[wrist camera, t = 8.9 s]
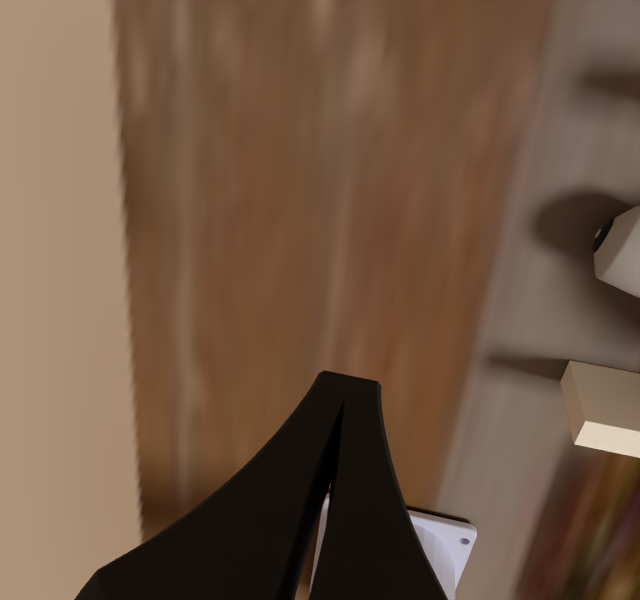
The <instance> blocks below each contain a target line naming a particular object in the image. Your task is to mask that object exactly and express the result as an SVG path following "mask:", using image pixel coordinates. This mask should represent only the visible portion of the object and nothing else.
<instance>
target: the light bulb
mask: <svg viewBox="0 0 640 600" xmlns="http://www.w3.org/2000/svg"><path fill="white" fill-rule="evenodd" d="M595 238H596V240H595V243H594V246H593V252H594V265H595V276H596V278H598V279H600V280H602V281H604V282H606V283H608V284H610V285H612V286H615V287H617V288H619V289H621V290H623V291H625V292H627V293H630V294H632V295H634V296H636V297H638V298H640V205H639V206H636V207H634V208H632V209H630V210H628V211H627V212H625V213H623V214H621V215H619V216H618V217H616V218H614V219H611V220H609V221H608V222H607V223H606V224H605V225H604V227H603V228H602V229H599V230H598V232H597V233H596V235H595Z"/></svg>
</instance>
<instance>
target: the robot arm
mask: <svg viewBox="0 0 640 600" xmlns="http://www.w3.org/2000/svg"><path fill="white" fill-rule="evenodd" d="M330 483H331V487H330V493H328V494H327V492H328V489H329V486H330ZM320 514H321V518H320V525H319V531H318V538H317V545H316V551H315V558H314V565H313V571H312V578H311V584H310V596H309V600H455V589H456V587H457V584H458V582H459V579H460V577H461V574H462V572H463V569H464V567H465V564H466V562H467V560H468V557H469V555H470V552H471V550H472V547H473V545H474V542H475V540H476V537H477V529H476V528H475V527H474V526H473V525H471V524H468V523H464V522H460V521H455V520H451V519H446V518H442V517H437V516H433V515H429V514H424V513H420V512H415V511H411V510H407V508H406V505H405V502H404V499H403V496H402V493H401V490H400V487H399V484H398V481H397V477H396V474H395V470H394V467H393V463H392V459H391V455H390V451H389V446H388V442H387V438H386V433H385V427H384V421H383V414H382V404H381V385H380V384H379V383H378V381H373V380H368V379H363V378H359V377H354V376H349V375H344V374H339V373H334V372H329V371H322V372H320V373H319V374H318V376H317V378H316V380H315V382H314V383H313V385H312V386H311V388H310V390H309V391H308V393H307V394H306V396H305V397H304V398H303V400H302V401H301V402H300V404H299V405H298V407H297V408H296V409H295V411H294V412H293V413H292V414H291V415H290V417H289V418H288V419H287V420H286V422H285V423H284V424H283V425H282V427H281V428H280V429H279V430H278V431H277V432H276V434H275V435H274V436H273V437H272V438H271V439H270V440H269V441H268V442H267V443H266V444H265V445H264V446H263V448H262V449H261V450H260V451H259V452H258V453H257V454H256V455H255V456H254V457H253V458H252V459H251V460H250V461H249V462H248V463H247V464H246V465H245V466H244V467H243V468H242V469H241V470H240V471H239V472H237V473H236V474H235V475H234V476H233V477H232V478H231V479H230V480H229V481H227V482H226V483H225V484H224V485H223V486H222V487H220V488H219V489H218V490H217V491H216V492H214V493H213V494H212V495H211V496H209V497H208V498H207V499H206V500H205V501H203V502H202V503H201V504H199V505H198V506H197V507H196V508H194V509H193V510H192V511H190V512H189V513H188V514H186V515H185V516H183V517H182V518H180V519H179V520H177V521H176V522H175V523H173V524H172V525H170V526H169V527H167V528H166V529H164V530H163V531H161V532H160V533H158V534H157V535H156V536H154V537H153V538H151V539H149V540H148V541H146V542H145V543H143V544H141V545H140V546H138V547H136V548H135V549H133V550H131V551H129V552H128V553H126V554H124V555H122V556H121V557H119V558H117V559H116V560H114V561H112V562H110V563H109V564H107V565H105V566H103V567H102V568H100V569H98V570H97V571H96V572H95V573H94V575H93V576H92V577H91V578H90V579H89V581H88V582H87V583H86V584H85V586H84V587H83V588H82V590H81V591H80V593H79V594H78V595H77V596H76V598H75V599H74V600H294V599H295V595H296V591H297V587H298V583H299V580H300V576H301V573H302V569H303V566H304V563H305V560H306V557H307V554H308V550H309V547H310V544H311V541H312V538H313V535H314V532H315V529H316V526H317V523H318V520H319V517H320Z"/></svg>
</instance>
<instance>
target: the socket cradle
mask: <svg viewBox="0 0 640 600" xmlns="http://www.w3.org/2000/svg"><path fill="white" fill-rule="evenodd" d="M560 384H561V388H562V393H563V397H564V402H565V406H566V410H567V415H568V419H569V424H570V428H571V433H572V437H573V441H574V444H576V445H581V446H586V447H590V448H595V449H600V450H605V451H610V452H615V453H619V454H624V455H629V456H634V457H639V458H640V374H639V373H634V372H629V371H623V370H618V369H613V368H608V367H603V366H597V365H592V364H587V363H582V362H576V361H571V360H570V361H569V363H568V365H567V368H566V370H565V372H564V375H563V377H562V379H561V382H560Z"/></svg>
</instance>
